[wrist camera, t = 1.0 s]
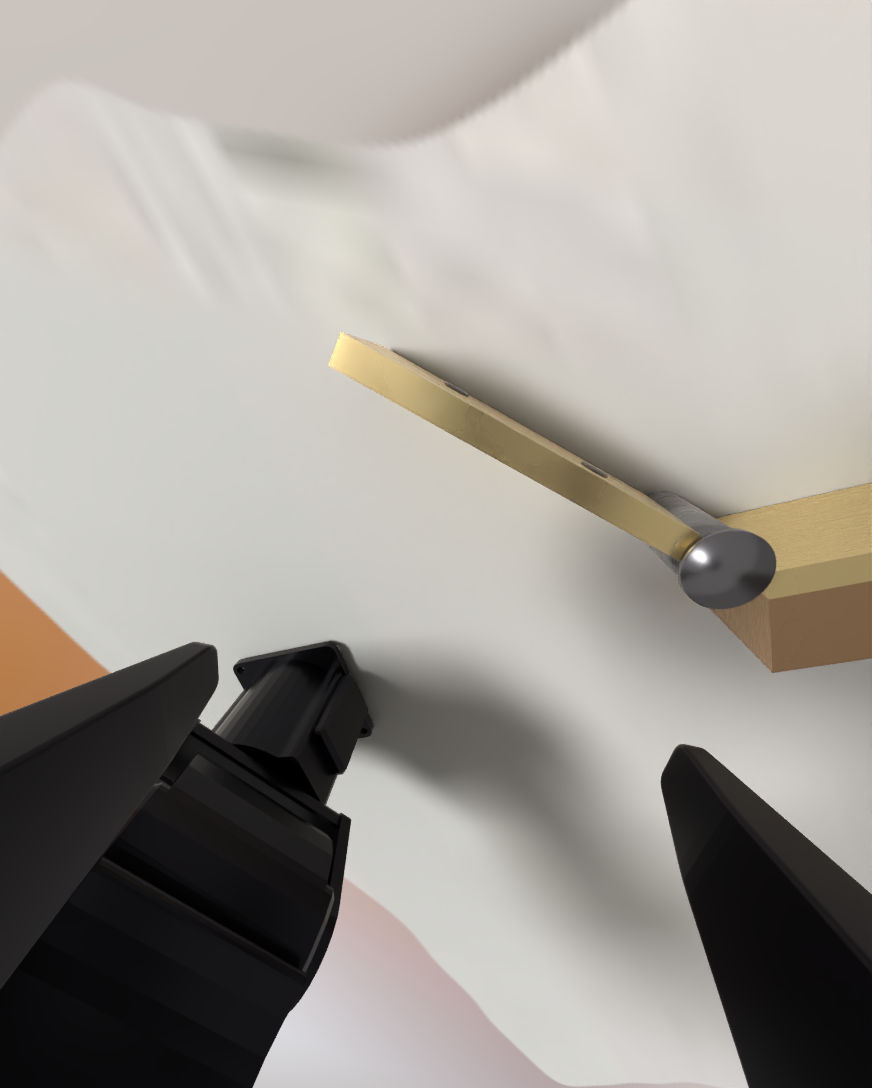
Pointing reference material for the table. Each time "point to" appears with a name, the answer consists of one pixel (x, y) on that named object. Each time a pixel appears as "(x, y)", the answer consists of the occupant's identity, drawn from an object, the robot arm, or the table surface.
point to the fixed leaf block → (810, 582)
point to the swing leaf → (576, 479)
